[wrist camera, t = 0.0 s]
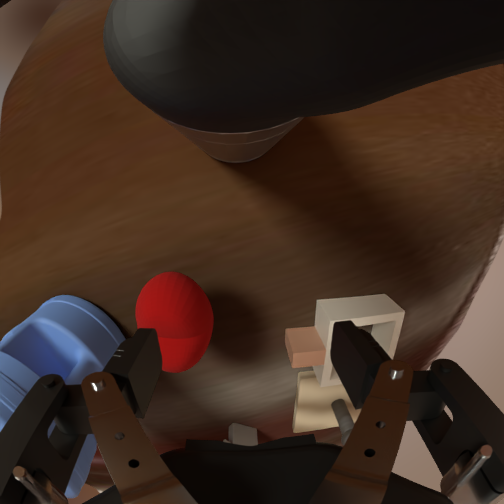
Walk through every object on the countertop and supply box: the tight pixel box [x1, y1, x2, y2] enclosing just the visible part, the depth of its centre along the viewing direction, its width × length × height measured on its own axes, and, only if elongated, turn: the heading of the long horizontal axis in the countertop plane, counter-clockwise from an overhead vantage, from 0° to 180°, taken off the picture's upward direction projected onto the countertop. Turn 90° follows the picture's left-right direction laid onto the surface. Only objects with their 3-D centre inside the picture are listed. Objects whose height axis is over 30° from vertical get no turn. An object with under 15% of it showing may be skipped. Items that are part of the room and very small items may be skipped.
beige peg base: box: [292, 370, 361, 445], centre depth 30 cm, size 12×12×10 cm
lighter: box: [223, 423, 258, 446], centre depth 31 cm, size 7×2×8 cm, turn 62°
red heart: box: [136, 272, 214, 373], centre depth 24 cm, size 9×7×10 cm
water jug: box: [0, 295, 126, 498], centre depth 17 cm, size 16×16×28 cm
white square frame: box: [285, 294, 405, 387], centre depth 29 cm, size 9×12×5 cm
